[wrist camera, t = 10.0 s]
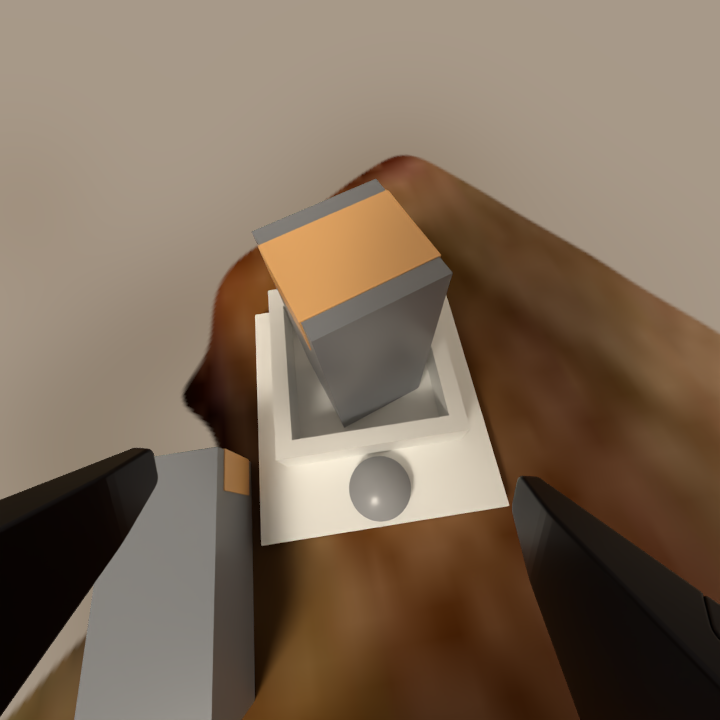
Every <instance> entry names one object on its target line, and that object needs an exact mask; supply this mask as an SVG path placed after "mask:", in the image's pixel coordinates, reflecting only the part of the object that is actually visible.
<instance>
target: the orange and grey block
mask: <svg viewBox="0 0 720 720" xmlns="http://www.w3.org/2000/svg"><path fill="white" fill-rule="evenodd" d="M252 233H253V236H254V238H255V240H256V243H257V245H258V248H259V250H260V252H261V255H262V257H263V259H264V261H265V264H266V266H267V268H268V270H269V273H270V275H271V277H272V279H273V281H274V283H275V285H276V288H277V290H278V292H279V294H280V297H281V299H282V301H283V303H284V306H285V308H286V310H287V313H288V315H289V317H290V319H291V322H292V324H293V326H294V328H295V331H296V333H297V335H298V337H299V340H300V342H301V344H302V346H303V349H304V351H305V353H306V355H307V358H308V360H309V362H310V364H311V365H312V367H313V369H314V371H315V373H316V375H317V377H318V379H319V381H320V383H321V384H322V386H323V388H324V390H325V392H326V394H327V396H328V398H329V400H330V402H331V404H332V405H333V407H334V409H335V411H336V413H337V415H338V417H339V419H340V421H341V423H342V425H343V426H344V428H345V427H347V426H348V425H350V424H352V423H354V422H356V421H358V420H360V419H361V418H363V417H365V416H367V415H369V414H371V413H373V412H374V411H376V410H378V409H380V408H382V407H384V406H386V405H387V404H389V403H391V402H393V401H395V400H397V399H399V398H400V397H402V396H404V395H406V394H408V393H410V392H412V391H413V390H415V389H417V388H418V387H419V384H420V381H421V377H422V374H423V371H424V367H425V364H426V361H427V357H428V354H429V351H430V347H431V344H432V340H433V337H434V334H435V330H436V327H437V324H438V320H439V317H440V314H441V310H442V307H443V303H444V300H445V297H446V293H447V290H448V287H449V283H450V280H451V277H452V272H451V270H450V269H449V268H448V267H447V265H446V264H445V263H444V262H443V260H442V259H441V258H440V257H441V254H440V253H439V252H438V251H437V249H436V248H435V247H434V246H433V244H432V243H431V242H430V241H429V240H428V238H427V237H426V236H425V235H424V233H423V232H422V231H421V230H420V229H419V227H418V226H417V225H416V224H415V222H414V221H413V220H412V219H411V218H410V216H409V215H408V214H407V213H406V211H405V210H404V209H403V208H402V207H401V205H400V204H399V203H398V202H397V200H396V199H395V198H394V197H393V196H392V194H391V193H390V192H389V191H388V190H385V189H384V188H383V187H382V186H381V184H380V183H379V182H378V181H377V179H374V180H372V181H370V182H367V183H365V184H363V185H360V186H358V187H355V188H353V189H351V190H348V191H346V192H344V193H341V194H339V195H337V196H334V197H332V198H330V199H327V200H325V201H322V202H320V203H318V204H315V205H313V206H311V207H308V208H306V209H304V210H301V211H299V212H297V213H294V214H292V215H289V216H287V217H285V218H282V219H280V220H278V221H276V222H273V223H271V224H268V225H266V226H264V227H261V228H259V229H257V230H254V231H252Z"/></svg>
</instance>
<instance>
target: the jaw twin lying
mask: <svg viewBox="0 0 720 720" xmlns="http://www.w3.org/2000/svg"><path fill="white" fill-rule="evenodd" d="M154 458H155V462H156V467H157V472H158V482H157V485H156V487H155V489H154V491H153V492H152V494H151V496H150V497H149V499H148V501H147V503H146V504H145V506H144V508H143V509H142V511H141V513H140V515H139V516H138V518H137V520H136V522H135V523H134V525H133V527H132V528H131V530H130V532H129V534H128V535H127V537H126V538H125V540H124V542H123V543H122V545H121V546H120V548H119V549H118V551H117V552H116V554H115V555H114V556H113V558H112V559H111V561H110V562H109V564H108V565H107V566H106V568H105V569H104V571H103V572H102V573H101V575H100V576H99V578H98V579H97V580H96V582H95V583H94V588H93V595H92V602H91V608H90V616H89V622H88V629H87V636H86V643H85V650H84V657H83V664H82V671H81V678H80V685H79V691H78V698H77V705H76V712H75V719H74V720H241V719H242V718H243V716H244V715H245V714H246V712H247V711H248V709H249V708H250V706H251V705H252V704H253V702H254V701H255V669H254V606H253V544H252V482H251V462H250V461H249V459H246V458H244V457H242V456H240V455H238V454H236V453H234V452H232V451H230V450H227V449H222V448H219V447H213V448H207V449H200V450H194V451H188V452H181V453H175V454H169V455H162V456H155V457H154Z"/></svg>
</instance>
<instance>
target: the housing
mask: <svg viewBox="0 0 720 720" xmlns="http://www.w3.org/2000/svg"><path fill="white" fill-rule="evenodd" d="M268 299H269V313H264V314H258V315H255V323H256V362H257V400H258V439H259V478H260V517H261V546H264V545H270V544H276V543H283V542H289V541H295V540H301V539H307V538H314V537H320V536H326V535H332V534H338V533H345V532H351V531H357V530H363V529H369V528H376V527H382V526H388V525H394V524H400V523H407V522H413V521H419V520H425V519H431V518H438V517H444V516H450V515H456V514H462V513H469V512H475V511H481V510H487V509H493V508H499V507H506V506H509V503H508V499H507V496H506V493H505V489H504V486H503V483H502V479H501V476H500V473H499V469H498V466H497V463H496V459H495V456H494V453H493V449H492V446H491V443H490V439H489V436H488V433H487V429H486V426H485V423H484V419H483V416H482V413H481V409H480V406H479V403H478V399H477V396H476V393H475V389H474V386H473V383H472V379H471V376H470V372H469V369H468V366H467V362H466V359H465V356H464V352H463V349H462V346H461V342H460V339H459V336H458V332H457V329H456V326H455V322H454V319H453V316H452V312H451V309H450V306H449V302H448V299H447V296H446V297H445V300H444V303H443V307H442V310H441V314H440V317H439V320H438V324H437V327H436V330H435V334H434V337H433V340H432V344H431V347H430V351H429V354H428V357H427V361H426V364H425V367H424V371H423V374H422V377H421V381H420V384H419V387H418V388H417V389H415V390H413V391H412V392H410V393H408V394H406V395H404V396H402V397H400V398H399V399H397V400H395V401H393V402H391V403H389V404H387V405H386V406H384V407H382V408H380V409H378V410H376V411H374V412H373V413H371V414H369V415H367V416H365V417H363V418H361V419H360V420H358V421H356V422H354V423H352V424H350V425H348V426H347V427H345V428H344V426H343V425H342V423H341V421H340V419H339V417H338V415H337V413H336V411H335V409H334V407H333V405H332V404H331V402H330V400H329V398H328V396H327V394H326V392H325V390H324V388H323V386H322V384H321V383H320V381H319V379H318V377H317V375H316V373H315V371H314V369H313V367H312V365H311V364H310V362H309V360H308V358H307V355H306V353H305V351H304V349H303V346H302V344H301V342H300V340H299V337H298V335H297V333H296V331H295V328H294V326H293V324H292V322H291V319H290V317H289V315H288V313H287V310H286V308H285V306H284V303H283V301H282V299H281V297H280V294H279V292H278V290H277V289H276V290H269V291H268Z"/></svg>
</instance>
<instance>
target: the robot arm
mask: <svg viewBox="0 0 720 720" xmlns="http://www.w3.org/2000/svg"><path fill="white" fill-rule="evenodd" d="M157 482H158V472H157V467H156V462H155V458H154V453H153V452H152V451H151V450H150V449H144V448H132V449H130V450H127V451H124V452H122V453H119V454H117V455H114V456H112V457H109V458H106V459H104V460H101V461H99V462H96V463H94V464H91V465H88V466H86V467H84V468H81V469H78V470H76V471H73V472H71V473H68V474H66V475H63V476H60V477H58V478H55V479H53V480H50V481H48V482H45V483H42V484H40V485H37V486H35V487H32V488H29V489H27V490H24V491H22V492H19V493H17V494H14V495H12V496H9V497H6V498H4V499H1V500H0V716H1V715H2V714H3V712H4V711H5V709H6V708H7V707H8V705H9V704H10V702H11V701H12V699H13V698H14V696H15V695H16V694H17V692H18V691H19V689H20V688H21V687H22V685H23V684H24V682H25V681H26V680H27V678H28V677H29V675H30V674H31V673H32V671H33V670H34V668H35V667H36V665H37V664H38V662H39V661H40V660H41V658H42V657H43V656H44V654H45V653H46V651H47V650H48V648H49V647H50V645H51V644H52V643H53V641H54V640H55V639H56V637H57V636H58V634H59V633H60V631H61V630H62V629H63V627H64V626H65V624H66V623H67V621H68V620H69V619H70V617H71V616H72V614H73V613H74V612H75V610H76V609H77V607H78V606H79V605H80V603H81V602H82V600H83V599H84V597H85V596H86V595H87V593H88V592H89V590H90V589H91V588H92V586H93V585H94V583H95V582H96V580H97V579H98V578H99V576H100V575H101V573H102V572H103V571H104V569H105V568H106V566H107V565H108V564H109V562H110V561H111V559H112V558H113V556H114V555H115V554H116V552H117V551H118V549H119V548H120V546H121V545H122V543H123V542H124V540H125V538H126V537H127V535H128V534H129V532H130V530H131V528H132V527H133V525H134V523H135V522H136V520H137V518H138V516H139V515H140V513H141V511H142V509H143V508H144V506H145V504H146V503H147V501H148V499H149V497H150V496H151V494H152V492H153V491H154V489H155V487H156V485H157ZM512 512H513V517H514V521H515V525H516V529H517V533H518V537H519V541H520V545H521V549H522V553H523V557H524V561H525V565H526V569H527V572H528V576H529V580H530V583H531V586H532V589H533V592H534V594H535V597H536V600H537V602H538V605H539V608H540V611H541V613H542V616H543V619H544V622H545V624H546V627H547V630H548V633H549V635H550V638H551V641H552V644H553V646H554V649H555V652H556V655H557V657H558V660H559V663H560V665H561V668H562V671H563V674H564V676H565V679H566V682H567V685H568V687H569V690H570V693H571V696H572V698H573V701H574V704H575V707H576V709H577V712H578V715H579V717H580V720H720V605H719V604H718V603H716V602H715V601H714V600H712V599H711V598H709V597H708V596H703V594H702V592H701V591H699V590H698V589H696V588H695V587H694V586H692V585H691V584H689V583H688V582H686V581H685V580H684V579H682V578H681V577H679V576H678V575H677V574H675V573H674V572H672V571H671V570H669V569H668V568H667V567H665V566H664V565H662V564H661V563H660V562H658V561H657V560H655V559H654V558H652V557H651V556H650V555H648V554H647V553H645V552H644V551H642V550H641V549H640V548H638V547H637V546H635V545H634V544H633V543H631V542H630V541H628V540H627V539H625V538H624V537H623V536H621V535H620V534H618V533H617V532H616V531H614V530H613V529H611V528H610V527H608V526H607V525H606V524H604V523H603V522H601V521H600V520H598V519H597V518H596V517H594V516H593V515H591V514H590V513H589V512H587V511H586V510H584V509H583V508H581V507H580V506H579V505H577V504H576V503H574V502H573V501H572V500H570V499H569V498H567V497H566V496H564V495H563V494H562V493H560V492H559V491H557V490H556V489H555V488H553V487H552V486H550V485H549V484H547V483H546V482H545V481H543V480H542V479H540V478H539V477H533V476H520V477H519V478H518V480H517V484H516V489H515V494H514V499H513V503H512Z"/></svg>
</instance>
